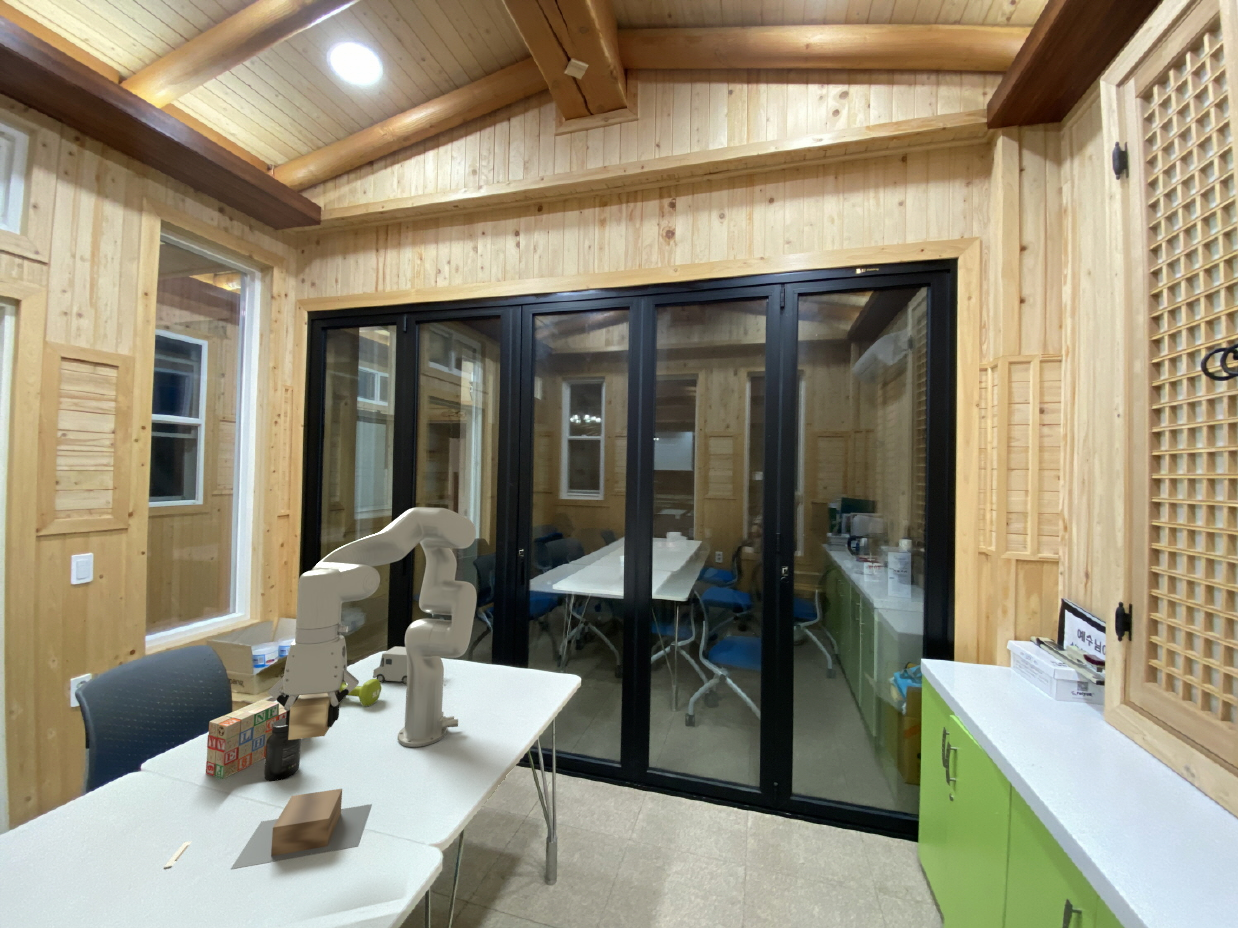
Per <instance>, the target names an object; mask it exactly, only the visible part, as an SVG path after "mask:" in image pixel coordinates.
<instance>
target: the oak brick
mask: <svg viewBox="0 0 1238 928" xmlns="http://www.w3.org/2000/svg"><path fill="white" fill-rule="evenodd" d="M330 705H331V702H330V699H329V697H328V694H327V693H320V694H308V695H300V696H299V698H298V699H297V700H296V702H295V703H294V704H293V705H292V706H291V707H290V721H289V737H288V740H293V739H301V740H302V739H310V738H319V737H325V736H326V735H327V733H328V731H329V729H330V728H331V727H327V724H328V708H329V706H330Z"/></svg>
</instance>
